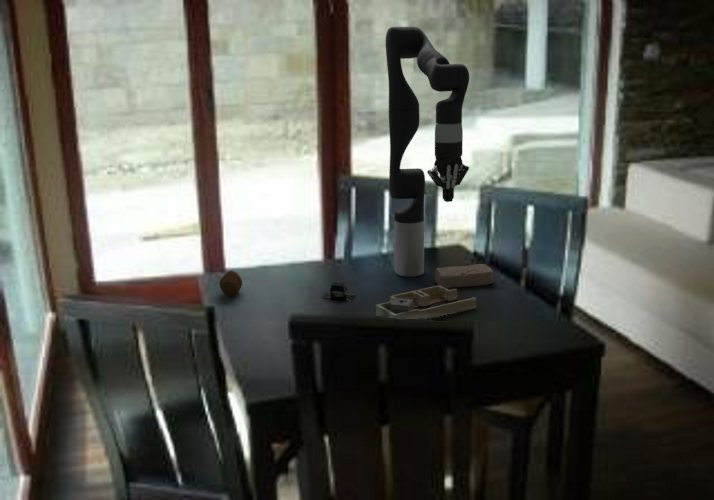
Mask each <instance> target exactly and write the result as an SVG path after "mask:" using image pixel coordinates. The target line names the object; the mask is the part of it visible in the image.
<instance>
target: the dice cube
mask: <svg viewBox="0 0 714 500" xmlns="http://www.w3.org/2000/svg"><path fill="white" fill-rule="evenodd" d="M410 310H414V308H413V300H412V299H401V298H395V299H394V300H393V302H392V303H391V304H390V311H391V312H393V313H395V314H398V313H402V312H406V311H410Z"/></svg>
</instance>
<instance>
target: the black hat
mask: <svg viewBox="0 0 714 500" xmlns="http://www.w3.org/2000/svg"><path fill="white" fill-rule="evenodd" d="M356 297H357V294H350V293H349V294H348V285H347V283H346V282H338V281H337V282H336V281H335V282H334V281H333V283H332V284H331V285H330V289H329V292H326V293H325V294H323V296H322V297H321V298H320V300H327V301H340V302H353V301H354V300H355V298H356Z"/></svg>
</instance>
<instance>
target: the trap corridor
mask: <svg viewBox="0 0 714 500" xmlns="http://www.w3.org/2000/svg"><path fill="white" fill-rule="evenodd" d="M388 297H389V298H388V299H389V301H386V302H382V303H376V304H375V317H376V316H380V317H385V318H396V319H419V318H424V319H428V318H433V317H438V318H440V317H439V316H442V317H444V316H443V315H446V316H448V315H447V314H450V315H453V313H454V314H458V313H461V311H462V312H466V310H467V311H470V310H474V309H477V297H475V296H473V297H470V298H465V299H461V300H458V289H457V288H452V289H450V288H444V287H442V286H440V285H438V284H437V285H433V286H429V287H424V288H419V289H415V290H411V291H406V292H402V293H399V294H398V293H397V294H393V295H390V296H388ZM395 298H401V299H412V300H413V310H410V311H406V312H402V313H398V314H395V313H393V312H391V311H390V304H391V303H392V302H393V300H394V299H395ZM447 300H448V303H444V304H440V305H439V304H438V305H436V306H431V305H433V304H436V303H437V302H438V303H442V302H446V301H447ZM455 300H457V301H455ZM451 301H452V302H451ZM428 305H430V306H431V307H429V306H428ZM419 306H420V307H421V306H422V307H421V308H423V309H418V308H420V307H419ZM423 306H426V308H424V307H423ZM415 307H416V308H415ZM414 308H415V309H414ZM457 312H458V313H457Z"/></svg>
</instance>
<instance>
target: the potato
mask: <svg viewBox="0 0 714 500" xmlns="http://www.w3.org/2000/svg"><path fill="white" fill-rule="evenodd" d="M242 286H243V280H242V277H241V276H240V275H239V274H238V272H236V271H234V270H229V271H228V272H226V273H225V274H224V275H223V276H222V277H221V279H220V280H219V288H220V290H221V292H222V293H223V294H224V295H225V296H228V297H229V298H230V297H234V296H235V295H237V294H238V293H239V291H240V290H241V289H242Z"/></svg>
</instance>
